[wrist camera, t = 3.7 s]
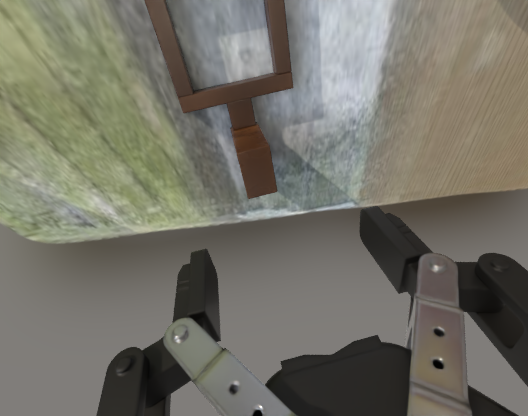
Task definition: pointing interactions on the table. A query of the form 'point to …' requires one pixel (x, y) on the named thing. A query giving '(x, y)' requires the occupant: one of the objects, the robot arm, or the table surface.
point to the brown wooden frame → (233, 92)
